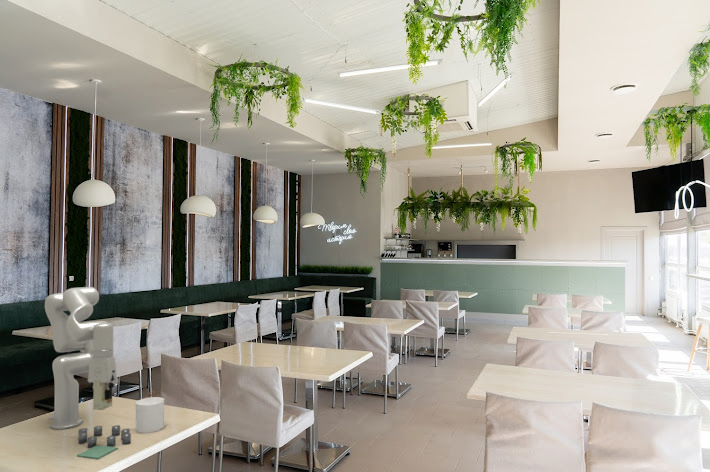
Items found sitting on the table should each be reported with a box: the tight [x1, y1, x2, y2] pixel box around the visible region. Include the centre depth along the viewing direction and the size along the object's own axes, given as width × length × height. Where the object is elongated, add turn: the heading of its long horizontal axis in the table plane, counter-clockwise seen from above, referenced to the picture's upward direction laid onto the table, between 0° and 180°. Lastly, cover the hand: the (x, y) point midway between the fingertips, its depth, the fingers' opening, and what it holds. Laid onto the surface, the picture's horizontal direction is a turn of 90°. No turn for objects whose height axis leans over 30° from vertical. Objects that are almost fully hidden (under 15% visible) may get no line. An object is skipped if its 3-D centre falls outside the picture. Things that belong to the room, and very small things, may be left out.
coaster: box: [76, 444, 119, 460], centre depth 192 cm, size 10×10×1 cm
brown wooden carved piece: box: [142, 390, 157, 399], centre depth 233 cm, size 9×4×12 cm, turn 122°
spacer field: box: [78, 424, 132, 449], centre depth 204 cm, size 25×16×4 cm, turn 74°
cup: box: [135, 396, 165, 434], centre depth 218 cm, size 12×12×12 cm
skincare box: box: [92, 379, 113, 411], centre depth 200 cm, size 6×4×12 cm
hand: (103, 398), depth 200 cm, fingers closed on skincare box, 4 cm apart
